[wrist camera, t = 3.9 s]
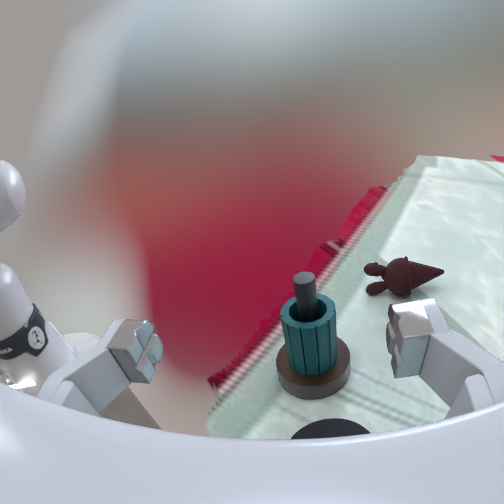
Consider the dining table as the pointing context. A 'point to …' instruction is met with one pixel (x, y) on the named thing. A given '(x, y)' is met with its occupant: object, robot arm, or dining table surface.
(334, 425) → the coaster
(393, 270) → the icecream
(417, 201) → the dining table surface
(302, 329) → the teal ribbed hollow cylinder
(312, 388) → the holder
